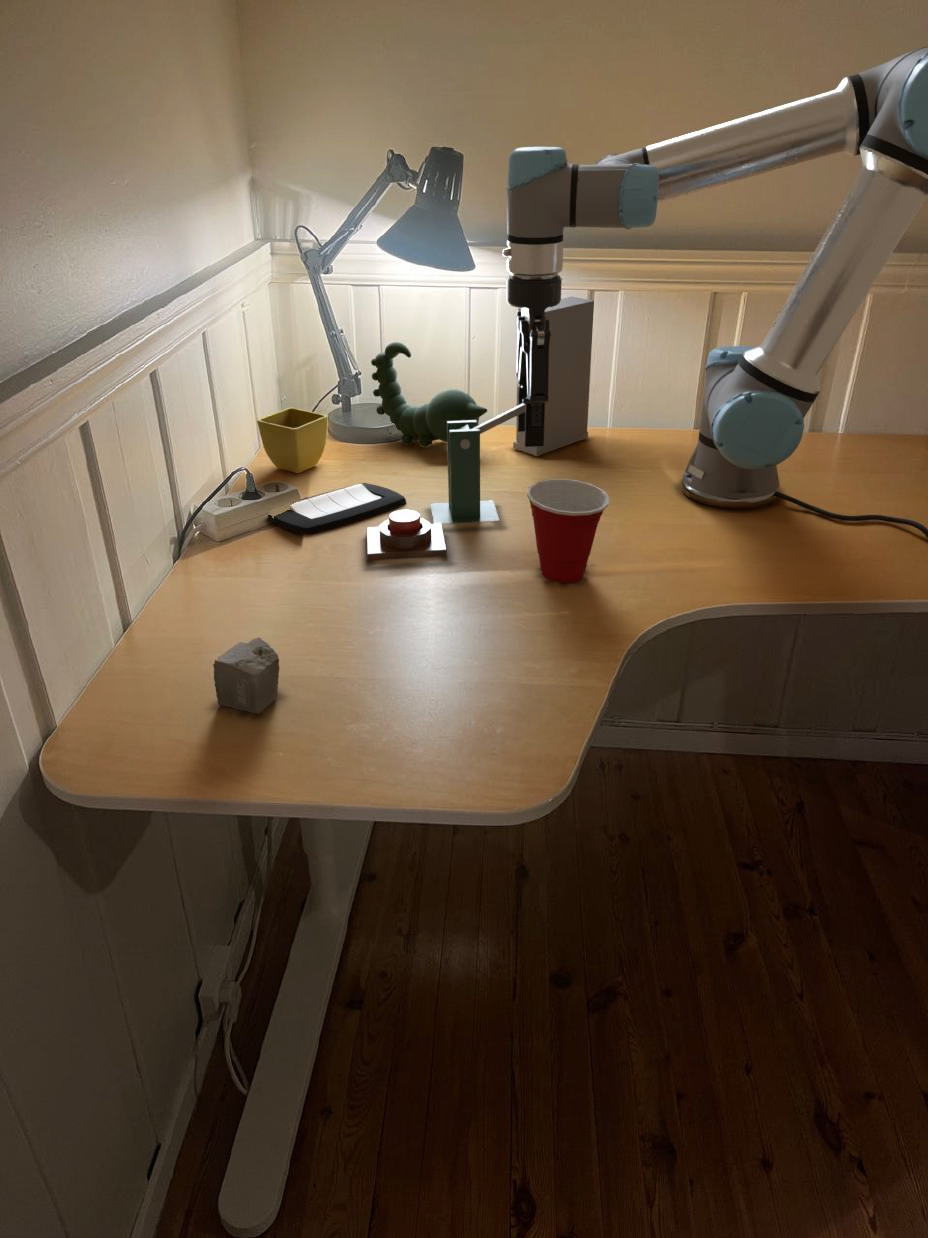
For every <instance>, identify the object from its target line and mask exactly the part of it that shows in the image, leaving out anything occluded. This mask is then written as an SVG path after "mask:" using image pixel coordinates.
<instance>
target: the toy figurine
mask: <svg viewBox="0 0 928 1238" xmlns="http://www.w3.org/2000/svg"><path fill="white" fill-rule="evenodd" d="M400 354H403V355H404V356H406V357H407V358H408V359H409V358H411V357H412V353H411V351H410V349H409V347H408V346H407V345H406V344H404V343H402V342H400V341H393V342H390V343H388V344H387V345H386V346H385V349H384V351H383V352H379V353H378V354H377V355H376V356H375V358H372V359H371V362H370V363H371V364H370V365H372V366H373V367H375V368H376V371H375V372H373V373H372V374H371V379H372V380H373V381H375V382H376V381H377V383H379V385H378V388H375V389H374V390H373V391H372V394H373V396H374V397H375V398H376V397H380V398H381V405H378V406H376V413H377V414H378V415H381V416H382V415H386V416H388V417H389V421H390V423H391V422H392V423H394V424H395V425H396V428H397V429H398V431H400V433H401V434H402V437H401V441H402V443H403V444H404V445H411V444H413V442H414V441H417V443H418V445H419V446H420V447H423V448H428V447H430V446H431V445H432V444H433V441H438V440H440V441H442V442H444V443H447V421H464V420H476V421H477V426H478V425H479V423H480V417H482V416H483V415H485V414H486V413H487V412H488V409H487V408H486V407H484V406H480V405H477V402H476V400H475V399H474V398H473V397H472V396H471V395H470V394H469V393H467V392H465V390H461V389H458V388H449V389H445V390H441V391H440V392H438V393H437V394H435V395H434V396H433V398H431V400H430V401H429V402H427V403H423V404H422V405H420V406H418V405H411V404H409V403H408V402H407V400H406V398H405V395H403V394H402V386H401V383H400V382H399V381H398V380H397V379H398V372H397V369H396V368H395V367H394V358H396V357H398V356H399V355H400ZM392 423H391V424H392Z"/></svg>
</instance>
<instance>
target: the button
mask: <svg viewBox="0 0 928 1238" xmlns="http://www.w3.org/2000/svg"><path fill="white" fill-rule="evenodd" d="M420 518H421V514H420V512H418V511H416V510H412V509H399V510H395V511H393V512H391V513H390V514H388V519H389V528H390V531H391V532H392V533H397V534H411V533H415V532H418V531H419V530H420V529H421V524H420Z"/></svg>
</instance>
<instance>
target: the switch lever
mask: <svg viewBox="0 0 928 1238" xmlns="http://www.w3.org/2000/svg"><path fill="white" fill-rule="evenodd" d="M524 399H527V394H525V395H524ZM524 412H525V404H523V403H522V404H520V405H518V406H517V405H516V406H514V407H512V408H510V409H508V410H506V411H504V412H502V413H500V414H498V415H496V416H494V417H492V418H490V419H488V420H486V421H484V422H481V423H480V424H478V426H476V427H474V428H472V429H479V430H480V435H481V434H483V433H485V432H488V431H489V430H491V429H493V428H495V427H497V426H500V425H501V424H504V423H506V422H507V421H510V420H512V419H514V418H515V417H516V418H517V416H518V415H520V414H522V413H524ZM460 429H470V428H469V426H468V424H467V425H465V426H463V427H461V428H459V429H457V430H460Z"/></svg>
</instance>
